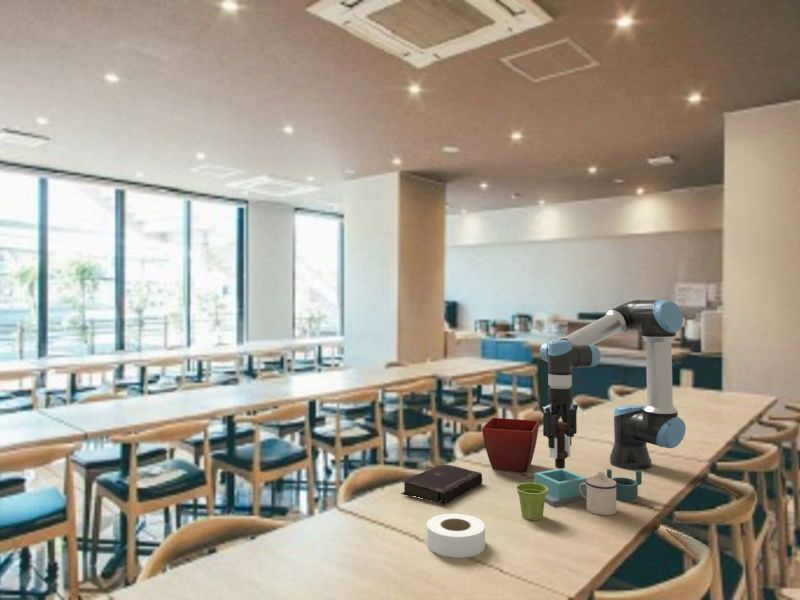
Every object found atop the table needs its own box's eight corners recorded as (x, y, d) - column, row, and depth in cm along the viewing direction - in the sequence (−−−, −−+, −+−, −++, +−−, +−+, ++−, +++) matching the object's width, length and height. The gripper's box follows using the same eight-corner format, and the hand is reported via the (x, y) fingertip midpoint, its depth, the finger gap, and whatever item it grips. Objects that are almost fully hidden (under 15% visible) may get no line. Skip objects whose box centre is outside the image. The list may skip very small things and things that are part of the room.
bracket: (644, 498, 180) (643, 470, 180) (625, 503, 175) (625, 475, 175) (620, 490, 187) (620, 464, 187) (602, 495, 183) (602, 468, 183)
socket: (567, 485, 192) (567, 466, 192) (595, 497, 181) (595, 477, 181) (526, 493, 185) (526, 474, 185) (552, 506, 173) (552, 485, 173)
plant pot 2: (530, 525, 159) (530, 495, 159) (509, 514, 167) (509, 485, 167) (555, 519, 163) (554, 490, 163) (533, 508, 171) (533, 480, 171)
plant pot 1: (481, 471, 208) (481, 427, 208) (492, 458, 226) (492, 417, 226) (532, 477, 201) (532, 431, 201) (539, 463, 218) (539, 420, 218)
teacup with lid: (622, 511, 169) (622, 473, 169) (607, 518, 163) (607, 479, 163) (587, 500, 178) (587, 464, 178) (571, 507, 172) (571, 470, 172)
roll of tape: (447, 527, 158) (447, 508, 158) (496, 542, 148) (495, 521, 148) (414, 547, 146) (414, 526, 146) (464, 564, 136) (464, 542, 136)
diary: (483, 486, 194) (483, 472, 194) (445, 508, 174) (445, 492, 174) (438, 475, 205) (438, 462, 205) (398, 494, 185) (398, 480, 185)
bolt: (549, 465, 185) (549, 420, 185) (564, 464, 186) (563, 420, 186) (555, 470, 179) (555, 424, 179) (570, 470, 180) (570, 424, 180)
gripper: (572, 383, 190) (572, 450, 190) (531, 387, 182) (531, 457, 182) (588, 386, 183) (588, 456, 183) (546, 390, 175) (546, 463, 175)
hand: (560, 456), depth 182 cm, fingers closed on bolt, 5 cm apart
